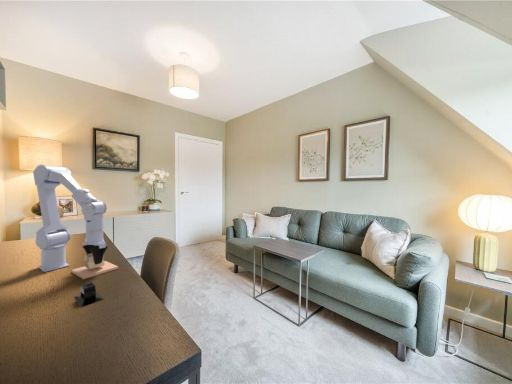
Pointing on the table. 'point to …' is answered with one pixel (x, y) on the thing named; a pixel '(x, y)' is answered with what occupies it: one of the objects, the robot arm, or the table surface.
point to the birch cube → (92, 262)
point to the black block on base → (88, 295)
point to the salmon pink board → (94, 270)
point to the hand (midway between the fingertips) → (95, 262)
